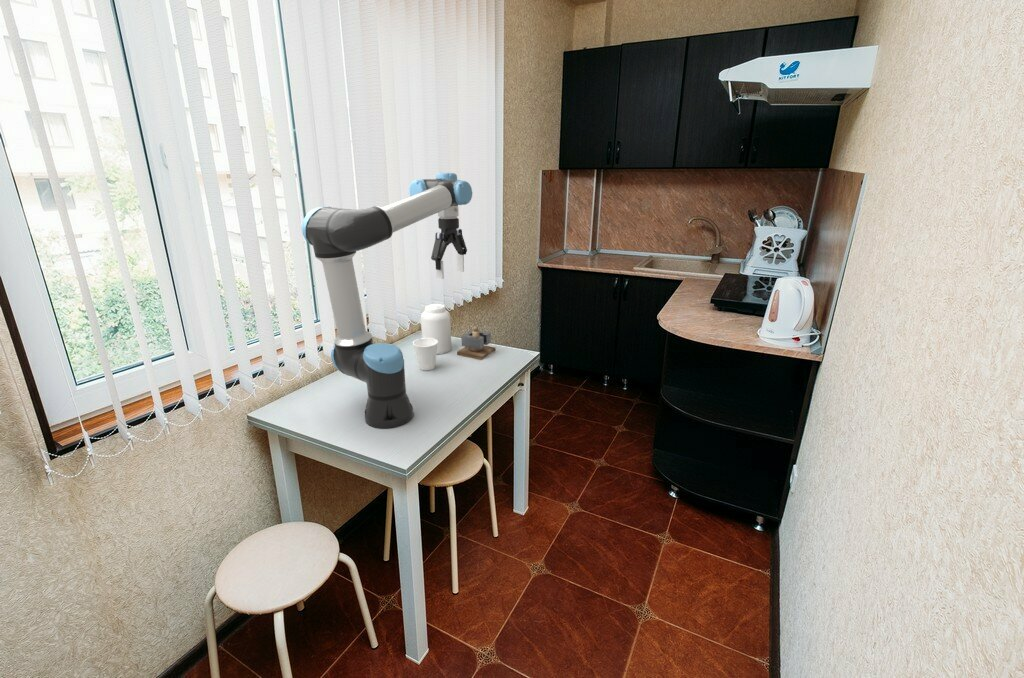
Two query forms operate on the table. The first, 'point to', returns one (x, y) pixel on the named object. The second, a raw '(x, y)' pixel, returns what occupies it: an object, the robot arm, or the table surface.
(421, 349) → the cup
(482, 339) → the grey split frame
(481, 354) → the post fixture
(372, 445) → the table surface
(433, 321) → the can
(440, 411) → the table surface
